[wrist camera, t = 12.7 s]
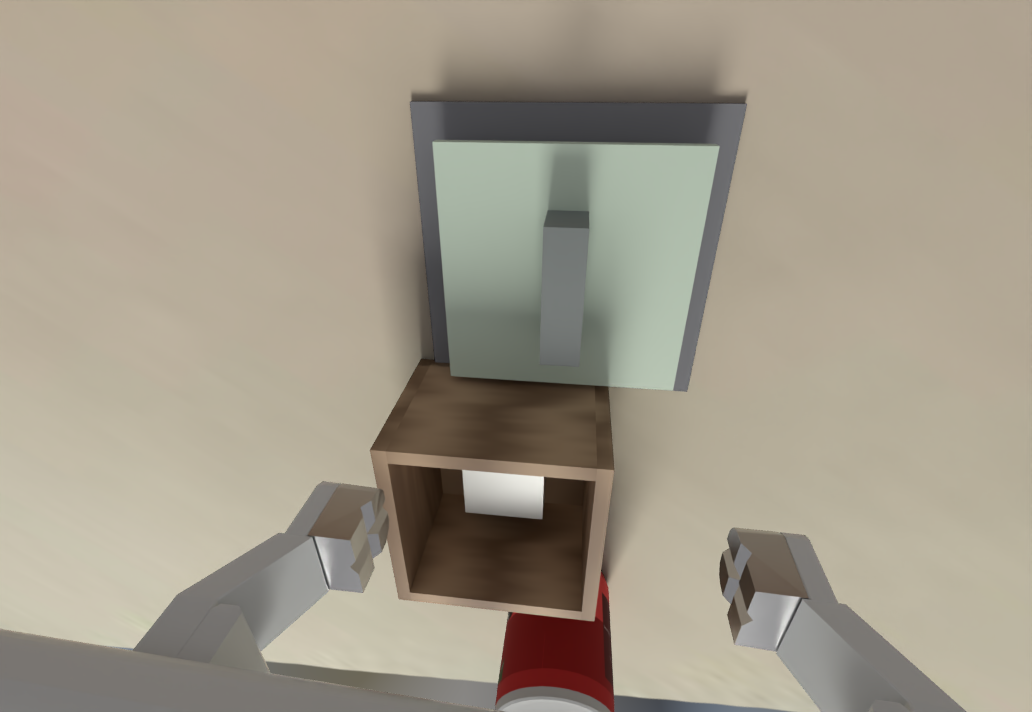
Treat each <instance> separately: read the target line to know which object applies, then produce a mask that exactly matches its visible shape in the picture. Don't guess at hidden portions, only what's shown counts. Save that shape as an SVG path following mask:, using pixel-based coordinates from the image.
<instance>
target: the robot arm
mask: <svg viewBox="0 0 1032 712" xmlns="http://www.w3.org/2000/svg"><path fill="white" fill-rule="evenodd" d="M384 502H385V495H384V491H383V490H382V489H379V488H371V487H364V486H357V485H350V484H343V483H342V484H341V483H333V482H326V481H323V482H321V483H320V484H318V485H317V486H316V488H315V489H314V491H313V492H312V494H311V495H310V497H309V498H308V500H307V501H306V502H305V504H304V505H303V507H302V508H301V510H300V511H299V513H298V514H297V516H296V517H295V519H294V520H293V522H292V523H291V525H290V526H289V528H288V529H287V531H286V532H285V533H278V534H276V535H274V536H273V537H271V538H269V539H268V540H266V541H265V542H263V543H261V544H260V545H258V546H256V547H255V548H253V549H251V550H250V551H248V552H247V553H245V554H243V555H242V556H240V557H238V558H237V559H235V560H233V561H232V562H230V563H228V564H227V565H225V566H224V567H222V568H220V569H219V570H217V571H215V572H214V573H212V574H210V575H209V576H207V577H205V578H204V579H202V580H201V581H199V582H197V583H196V584H194V585H192V586H191V587H189V588H187V589H186V590H184V591H183V592H181V593H179V594H178V595H177V596H176V597H175V598H174V599H173V601H172V602H171V603H170V604H169V606H168V607H167V608H166V609H165V611H164V612H163V613H162V614H161V616H160V617H159V618H158V619H157V621H156V622H155V623H154V624H153V626H152V627H151V628H150V629H149V631H148V632H147V633H146V634H145V636H144V637H143V638H142V639H141V641H140V642H139V643H138V644H137V646H136V647H135V648H134V649H133V651H131V650H125V649H119V648H113V647H107V646H101V645H95V644H89V643H83V642H77V641H71V640H64V639H58V638H52V637H46V636H40V635H34V634H28V633H22V632H16V631H10V630H4V629H0V712H504V711H498V710H492V709H486V708H480V707H473V706H467V705H461V704H455V703H449V702H443V701H436V700H430V699H424V698H418V697H412V696H406V695H400V694H394V693H388V692H381V691H375V690H369V689H363V688H357V687H351V686H345V685H338V684H332V683H326V682H320V681H314V680H307V679H302V678H295V677H289V676H284V675H277V674H271V673H270V672H269V669H268V666H267V664H266V662H265V660H264V658H263V656H262V653H261V651H262V650H263V649H264V648H265V647H266V646H267V645H268V644H270V643H271V642H272V641H273V640H274V639H275V638H276V637H278V636H279V635H280V634H281V633H282V632H283V631H284V630H285V629H287V628H288V627H289V626H290V625H291V624H292V623H293V622H295V621H296V620H297V619H298V618H299V617H300V616H301V615H302V614H304V613H305V612H306V611H307V610H308V609H309V608H310V607H311V606H313V605H314V604H315V603H316V602H317V601H318V600H319V599H321V598H322V597H323V596H324V595H325V594H326V593H327V592H328V591H329V590H328V589H331V590H341V591H350V592H359V593H363V592H364V590H365V588H366V586H367V584H368V581H369V579H370V577H371V575H372V572H373V570H374V563H373V558H374V557H375V556H377V555H378V554H380V553H381V552H382V550H383V548H384V545H385V543H386V540H387V535H388V531H389V516H388V512H387V511H386V510H385V509H384V508H383V507H382V506H383V504H384ZM727 540H728V544H729V549H727V550H725V551H724V552H723V553H722V557H721V561H720V572H719V576H720V585H721V589H722V594H723V596H724V597H725V598H726V600H727V601H728V602H729V603H730V604H731V606H730V608H729V611H728V614H727V616H728V620H729V624H730V628H731V632H732V636H733V640H734V644H735V645H740V646H746V647H752V648H758V649H764V650H770V651H776V652H777V653H776V654H777V655H778V657H779V658H780V659H781V660H782V662H783V663H784V664H785V666H786V667H787V668H788V669H789V671H790V672H791V673H792V675H793V676H794V677H795V678H796V680H797V681H798V682H799V684H800V685H801V686H802V687H803V689H804V690H805V691H806V693H807V694H808V695H809V696H810V698H811V699H812V700H813V702H814V703H815V704H816V705H817V707H818V708H819V709H820V711H821V712H966V711H965V710H964V709H963V708H962V707H961V706H960V705H958V704H957V703H956V702H955V701H954V700H953V699H952V698H951V697H949V696H948V695H947V694H946V693H945V692H944V691H943V690H942V689H940V688H939V687H938V686H937V685H936V684H935V683H934V682H933V681H931V680H930V679H929V678H928V677H927V676H926V675H925V674H924V673H922V672H921V671H920V670H919V669H918V668H917V667H916V666H915V665H913V664H912V663H911V662H910V661H909V660H908V659H907V658H906V657H904V656H903V655H902V654H901V653H900V652H899V651H898V650H897V649H895V648H894V647H893V646H892V645H891V644H890V643H889V642H888V641H886V640H885V639H884V638H883V637H882V636H881V635H880V634H879V633H877V632H876V631H875V630H874V629H873V628H872V627H871V626H870V625H868V624H867V623H866V622H865V621H864V620H863V619H862V618H861V617H859V616H858V615H857V614H856V613H855V612H854V611H853V610H852V609H850V608H849V607H848V606H847V605H846V604H840V603H838V602H837V599H836V597H835V595H834V593H833V590H832V588H831V586H830V584H829V582H828V579H827V577H826V575H825V573H824V571H823V568H822V566H821V564H820V562H819V560H818V557H817V555H816V553H815V551H814V549H813V546H812V544H811V542H810V540H809V539H808V538H807V537H806V536H805V535H799V534H790V533H779V532H773V531H763V530H753V529H743V528H732V529H731V530H730V532H729V535H728V538H727Z"/></svg>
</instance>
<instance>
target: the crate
mask: <svg viewBox="0 0 1032 712" xmlns="http://www.w3.org/2000/svg"><path fill="white" fill-rule="evenodd" d="M370 453H371V458H372V463H373V468H374V474H375V479H376V484H377V488H379V489H382V490H383V491H384V495H385V502H384V504H383V506H382V507H383V508H384V509H385V510H386V511H387V512H388V516H389V531H388V535H387V541H388V546H389V551H390V556H391V561H392V567H393V572H394V577H395V582H396V587H397V592H398V598H399V599H402V600H411V601H419V602H428V603H437V604H446V605H454V606H463V607H472V608H481V609H489V610H498V611H507V612H516V613H524V614H533V615H542V616H551V617H559V618H568V619H577V620H586V621H594V620H595V613H596V605H597V598H598V590H599V582H600V575H601V567H602V560H603V552H604V545H605V537H606V529H607V522H608V514H609V507H610V499H611V491H612V484H613V476H614V459H613V445H612V431H611V418H610V404H609V390H608V386H595V385H580V384H564V383H549V382H534V381H518V380H503V379H488V378H472V377H457V376H451V372H450V363H439V362H435V360H430V359H421V360H420V362H419V364H418V366H417V367H416V369H415V371H414V373H413V375H412V376H411V378H410V380H409V382H408V383H407V385H406V387H405V389H404V391H403V392H402V394H401V396H400V398H399V399H398V401H397V403H396V405H395V407H394V408H393V410H392V412H391V414H390V415H389V417H388V419H387V421H386V423H385V424H384V426H383V428H382V430H381V431H380V433H379V435H378V437H377V439H376V440H375V442H374V444H373V446H372V447H371V449H370ZM462 470H469V471H481V472H492V473H504V474H516V475H528V476H540V477H546V486H545V496H544V507H543V518H542V519H532V518H521V517H510V516H500V515H489V514H478V513H468V512H465V500H464V486H463V473H462Z"/></svg>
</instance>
